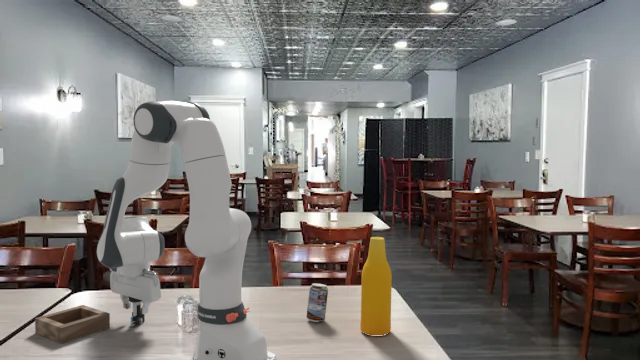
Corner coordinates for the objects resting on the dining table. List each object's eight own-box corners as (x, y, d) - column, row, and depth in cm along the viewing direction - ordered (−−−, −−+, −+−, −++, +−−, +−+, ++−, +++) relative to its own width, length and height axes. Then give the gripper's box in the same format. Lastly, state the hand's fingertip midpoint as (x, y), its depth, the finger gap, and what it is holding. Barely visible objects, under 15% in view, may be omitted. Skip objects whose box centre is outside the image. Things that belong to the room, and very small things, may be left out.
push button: (138, 328, 150) (138, 296, 149) (122, 327, 151) (122, 295, 150) (149, 321, 157) (149, 290, 156) (133, 319, 157) (133, 289, 157)
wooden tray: (109, 327, 150) (109, 313, 150) (61, 343, 138) (61, 328, 137) (83, 318, 158) (82, 304, 158) (35, 333, 145) (35, 318, 145)
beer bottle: (355, 328, 153) (357, 236, 151) (381, 324, 156) (383, 234, 154) (368, 339, 144) (370, 241, 142) (396, 335, 147) (398, 239, 145)
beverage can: (303, 322, 157) (303, 285, 156) (313, 315, 164) (314, 280, 163) (320, 325, 154) (320, 288, 153) (330, 318, 161) (331, 282, 160)
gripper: (165, 270, 149) (165, 314, 150) (123, 261, 160) (123, 302, 161) (148, 274, 144) (148, 320, 145) (106, 264, 155) (106, 307, 156)
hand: (135, 310), depth 153 cm, fingers open, 7 cm apart
